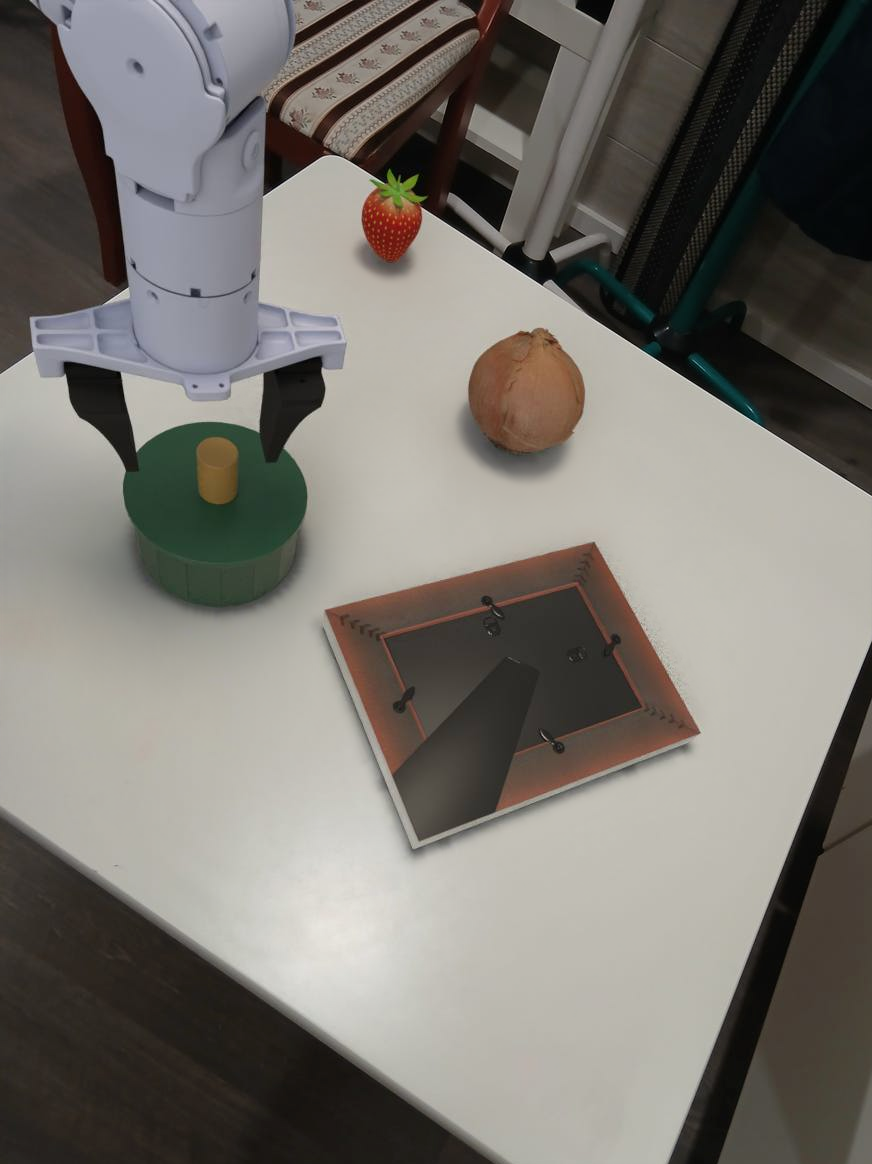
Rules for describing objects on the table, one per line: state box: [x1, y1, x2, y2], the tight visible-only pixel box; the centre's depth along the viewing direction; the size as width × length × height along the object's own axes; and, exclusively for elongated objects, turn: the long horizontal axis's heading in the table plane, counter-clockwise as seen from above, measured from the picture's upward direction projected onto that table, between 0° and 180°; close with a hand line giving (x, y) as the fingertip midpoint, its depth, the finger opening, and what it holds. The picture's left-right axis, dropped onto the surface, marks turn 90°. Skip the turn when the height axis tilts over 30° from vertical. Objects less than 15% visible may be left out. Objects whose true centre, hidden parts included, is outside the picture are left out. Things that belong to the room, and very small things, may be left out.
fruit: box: [361, 168, 429, 263], centre depth 73 cm, size 5×5×8 cm
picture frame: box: [321, 541, 701, 850], centre depth 58 cm, size 16×2×22 cm
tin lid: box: [122, 421, 309, 568], centre depth 52 cm, size 11×11×5 cm
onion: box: [467, 327, 586, 456], centre depth 67 cm, size 10×9×10 cm
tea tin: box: [133, 526, 299, 608], centre depth 56 cm, size 10×10×5 cm
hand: (201, 453), depth 49 cm, fingers open, 7 cm apart
